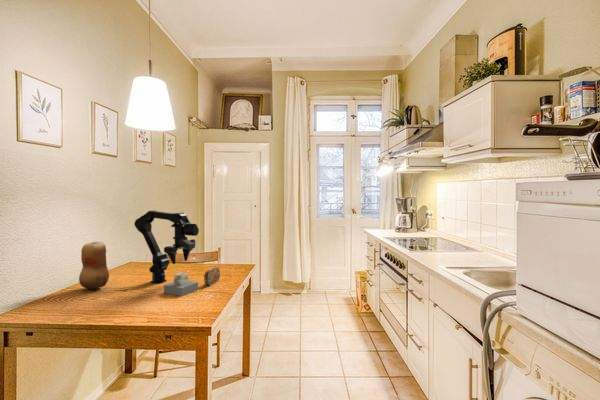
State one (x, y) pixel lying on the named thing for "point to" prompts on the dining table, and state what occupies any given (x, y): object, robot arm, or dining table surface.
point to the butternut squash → (94, 266)
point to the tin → (211, 276)
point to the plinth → (181, 288)
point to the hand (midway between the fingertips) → (180, 262)
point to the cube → (180, 278)
